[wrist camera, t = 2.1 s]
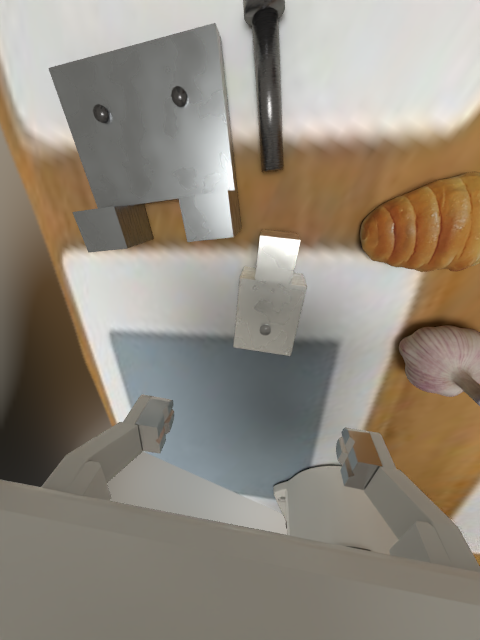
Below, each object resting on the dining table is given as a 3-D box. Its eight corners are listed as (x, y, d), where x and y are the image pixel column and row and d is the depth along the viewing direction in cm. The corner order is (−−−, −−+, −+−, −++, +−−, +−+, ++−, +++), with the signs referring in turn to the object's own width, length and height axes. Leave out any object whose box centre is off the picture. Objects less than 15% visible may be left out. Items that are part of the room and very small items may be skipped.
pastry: (354, 272, 22) (368, 286, 19) (359, 189, 19) (377, 188, 16) (474, 260, 20) (513, 274, 17) (500, 167, 17) (554, 160, 14)
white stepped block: (289, 336, 26) (290, 357, 23) (238, 329, 26) (232, 348, 23) (311, 234, 21) (317, 242, 18) (248, 227, 21) (243, 234, 18)
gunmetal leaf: (241, 228, 21) (233, 237, 17) (120, 242, 23) (88, 252, 20) (220, 37, 16) (201, -14, 12) (65, 77, 18) (5, 45, 14)
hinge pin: (288, 168, 19) (288, 166, 17) (258, 173, 19) (254, 171, 17) (284, 5, 15) (283, -25, 13) (246, 17, 15) (239, -11, 13)
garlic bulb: (380, 336, 24) (421, 393, 17) (462, 297, 22) (550, 348, 15) (410, 384, 27) (457, 453, 20) (488, 355, 24) (576, 424, 17)
